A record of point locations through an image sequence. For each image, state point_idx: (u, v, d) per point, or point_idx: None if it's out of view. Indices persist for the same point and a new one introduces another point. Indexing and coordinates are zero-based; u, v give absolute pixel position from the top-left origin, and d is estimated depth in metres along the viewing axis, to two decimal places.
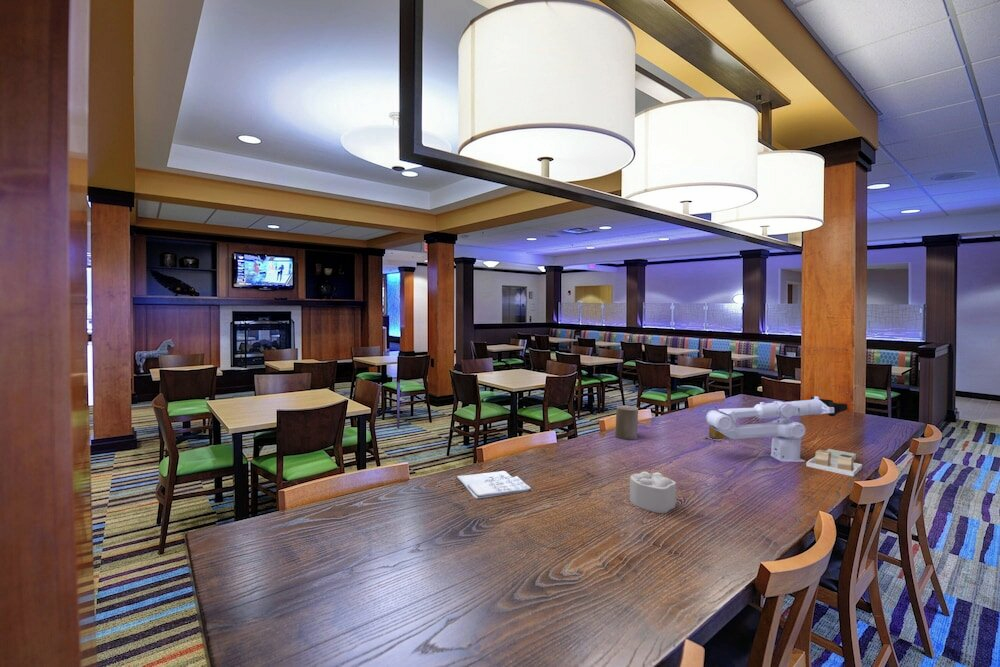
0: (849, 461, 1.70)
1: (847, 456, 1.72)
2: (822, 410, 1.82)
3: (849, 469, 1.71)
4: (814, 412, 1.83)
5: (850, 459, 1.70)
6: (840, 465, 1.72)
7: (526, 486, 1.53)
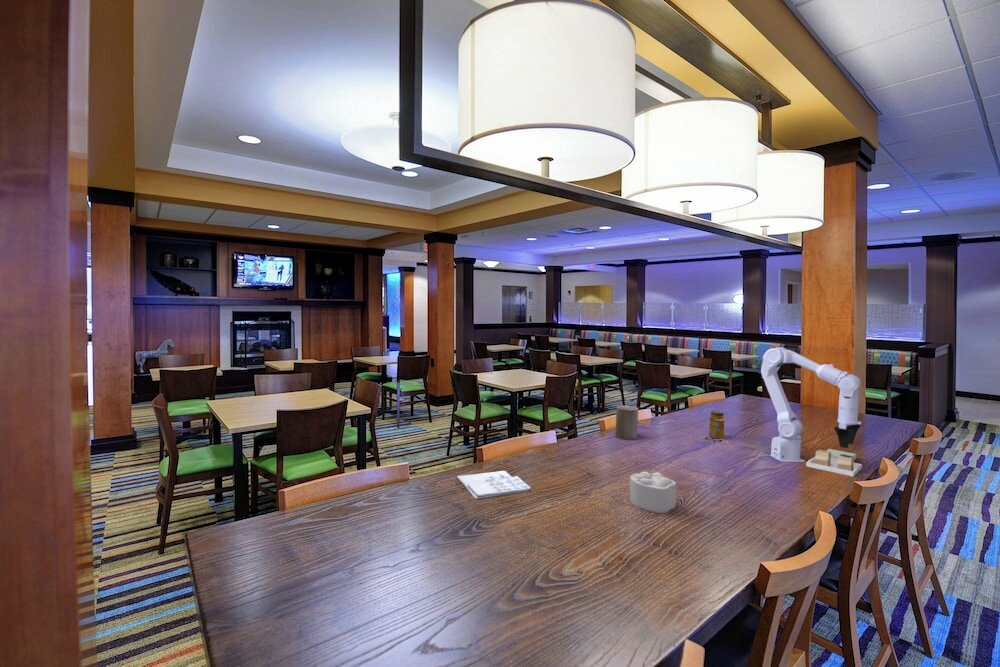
0: (849, 461, 1.70)
1: (847, 456, 1.72)
2: (842, 422, 1.71)
3: (849, 469, 1.71)
4: (841, 414, 1.72)
5: (850, 459, 1.70)
6: (840, 465, 1.72)
7: (526, 486, 1.53)
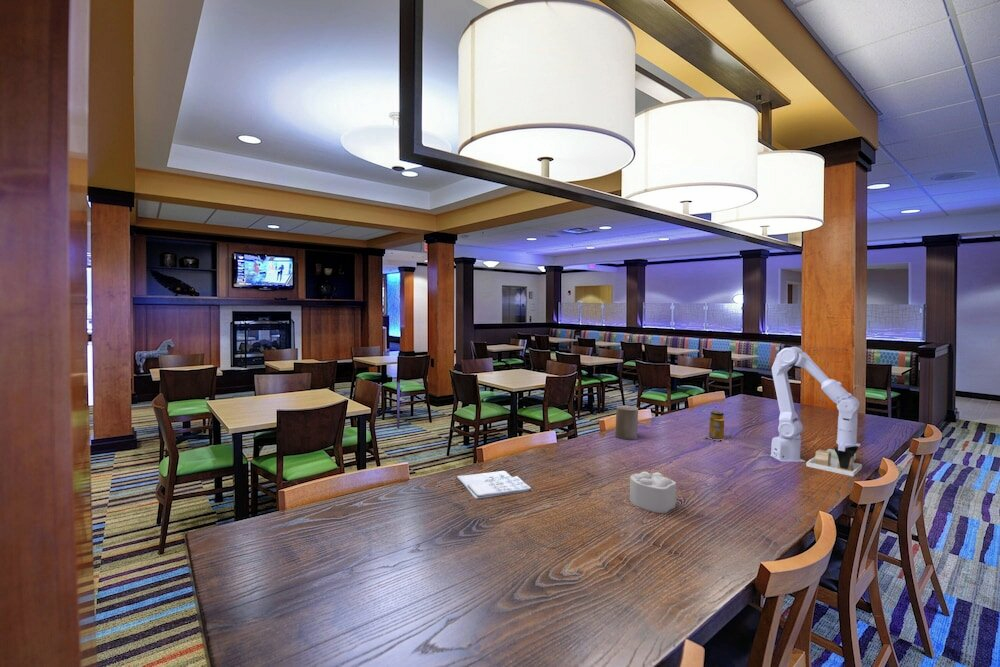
0: None
1: None
2: (841, 443, 1.71)
3: (849, 469, 1.71)
4: (840, 435, 1.72)
5: (850, 459, 1.70)
6: None
7: (526, 486, 1.53)
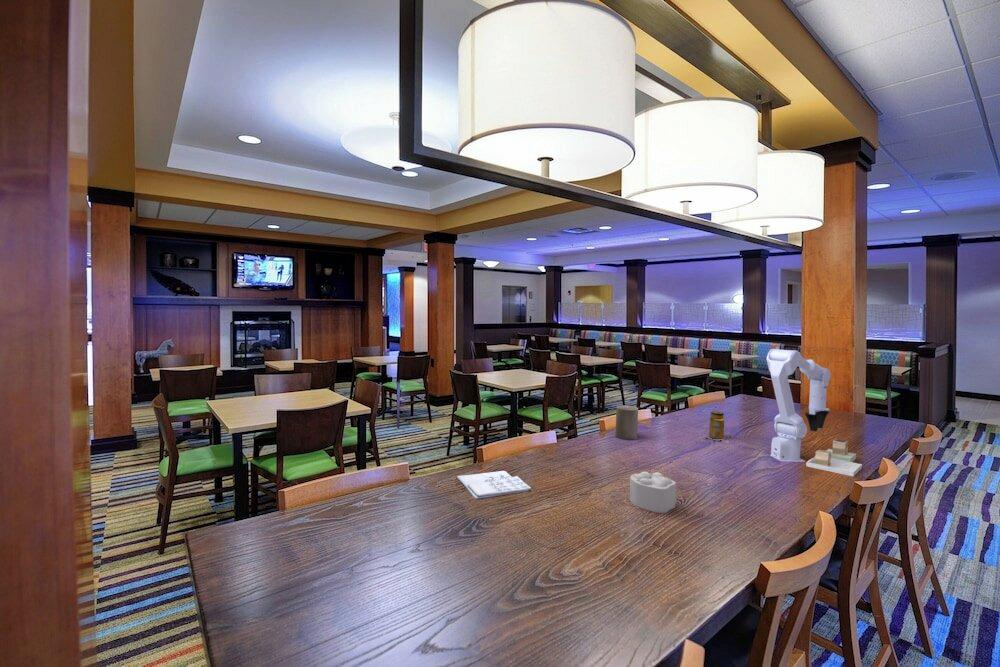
0: (843, 445, 1.83)
1: (841, 441, 1.85)
2: (812, 408, 1.92)
3: (843, 453, 1.83)
4: (811, 401, 1.93)
5: (844, 443, 1.83)
6: (835, 449, 1.85)
7: (526, 486, 1.53)
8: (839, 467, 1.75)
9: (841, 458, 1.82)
